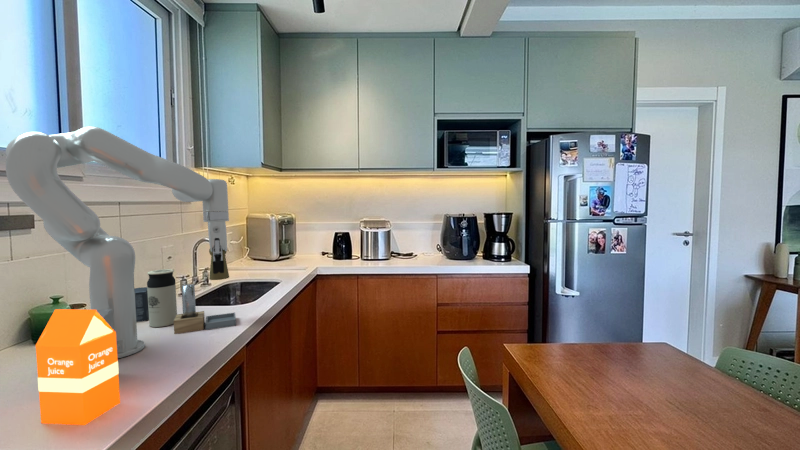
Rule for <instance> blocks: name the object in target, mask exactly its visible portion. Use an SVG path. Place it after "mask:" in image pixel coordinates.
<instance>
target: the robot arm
mask: <svg viewBox="0 0 800 450" xmlns="http://www.w3.org/2000/svg"><path fill="white" fill-rule="evenodd" d="M5 155H6V156H5V157H6V159H5V174H6V179H7V181H8V183H9V186H10V188H11V189H12V190H13V192H14V193H15V194H16V196H18V198H19V199H20V200H21V201H22V202H23V204H24V203H25V205H26V206H27V207H29V209H30V210H31V211H33V212H34V214H36V215H37V216H38V218H40V219H41V220H42V221H43V227H44V230H45V231H46V233H47V234H48V235H49V236H50V237H51V239H53V240H55V242H56V243H58V244H59V245H60V246H61V247H63V249H64V250H66V251H67V252H68V253H69V254H70V255H72V256H73V257H74V258H75V259H76V260H78V261H79V262H81V264H83V265H84V266H86V267H88V268H89V282H88V286H89V287H88V288H89V290H88V291H89V306H90V310H105V309H112V311H113V330H114V331H115V332H116V342H117V359H120V358H125V357H128V356H131V355H134V354H136V353H139V352H140V351H142V350H143V349H144V348H145V341H144V340H141V339H138V328H137V322H136V307H135V292H134V289H135V268H136V267H135V265H136V252H135V248H134V246H133V245H132V244H131V243H130V242H129V241H128V240H126V239H125V238H123V237H120V236H116V235H109V233H108V232H106V231H105V229H103V228H102V227H101V221H100V217H99V215H97V214H96V212H95V211H94V210H92V209H91V208H90V207H89V206H88V205H87V204H86V203H84V201H82V199H80V198H79V197H78V196H77V195H76V194H75V193H74V192H73V191H72V190H71V189H70V188H69V187H68V186H67V185H66V184H65V182H63V180H62V179H61V178H60V176H59V172H58V169H59V168H65V167H71V166H77V165H78V166H79V165H82V164H86V163H87V164H88V163H92V162H95V163H97V164H99V165H102V166H104V167H106V168H109V169H111V170H113V171H115V172H117V173H120V174H122V175H123V176H126V177H128V178H130V179H133V180H135V181H140V182H143V183H148V184H154V185H160V186H162V187H166V188H168V189H170V190H171V192H172V195H173V197H175V199H177V200H178V201H180V202H184V203H194V202H195V203H196V202H202V216H203V217H202V218H203V220H202V221H203V223H207V232H208V233H207V234H208V242H209V243H208V244H209V249H210V250H211V252H213V273H214V274H217V273H219V272H220V273H224V261H223V255H222V253H223V252H222V249H223V250H225V251H228V237H227V234H228V233H227V224H226V222H229V221H230V217H229V196H228V194H229V193H228V182H227V181H226V180H225V179H220V178H219V179H217V178H216V179H215V178H211V179H208V178H207V177H205V176H204V175H201V174H200V173H197V172H196V171H194V170H192V169H191V168H188V167H187V166H184V165H182V164H179V163H177V162H174V161H172V160H169V159H166V158H163V157H161V156H158V155H155V154H154V153H153V154H152V153H151V152H148V151H146V150H145V149H142V148H140V147H138V146H137V145H135V144H133V143H131V142H129V141H127V140H124V139H123V138H121V137H119V136H117V135H115V134H113V133H112V132H110V131H108V130H106V129H103V128H102V127H97V126H85V127H84V126H83V127H81V128H80V129H79V128H78V129H77V130H75V131H71V132H64V133H57V134H47V133H43V132H41V131H27V132H24V133H22V134H20V135H18V136H16V137H15V138H14V139H12V140H11V141H10V142H9V143H8V144H7V146H6V148H5ZM212 247H213V251H212ZM220 249H221V251H220ZM214 250H215V252H214ZM220 253H221V254H220Z"/></svg>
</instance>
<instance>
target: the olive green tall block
mask: <svg viewBox="0 0 800 450" xmlns="http://www.w3.org/2000/svg"><path fill="white" fill-rule="evenodd" d="M212 251H213V247H212ZM220 251H221V249H220ZM227 251H228V250H227ZM227 251H225V250H223V249H222V252H223V253H222V255H223V261H224V273H220V272H219V273H217V274H214V273H213V252H211V250H210V248H209V250H208V252H209V255H210V267H209V276H208V278H209V279H208V280H210V281H221V280H226V279H227V280H228V279H230V275H229V270H228V269H229V268H228V264H227V263H228V262H227V260H226V258H227V257H226V254H227ZM214 252H215V250H214ZM220 254H221V253H220Z"/></svg>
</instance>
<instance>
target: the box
mask: <svg viewBox="0 0 800 450" xmlns="http://www.w3.org/2000/svg"><path fill="white" fill-rule="evenodd" d="M134 292H135V307H136V323H137V322H138V323H140V322H148V321H149V310H148V292H147V286H146V287H136V288H135V287H134Z"/></svg>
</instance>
